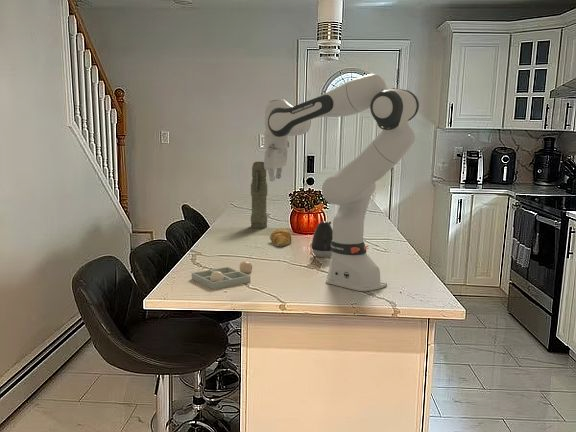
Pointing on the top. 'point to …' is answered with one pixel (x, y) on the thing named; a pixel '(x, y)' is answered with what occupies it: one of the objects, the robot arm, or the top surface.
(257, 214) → the thermos
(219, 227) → the top surface
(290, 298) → the top surface
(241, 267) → the brown egg
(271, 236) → the croissant
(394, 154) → the robot arm
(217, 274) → the pale egg
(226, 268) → the carton
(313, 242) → the pump dispenser
